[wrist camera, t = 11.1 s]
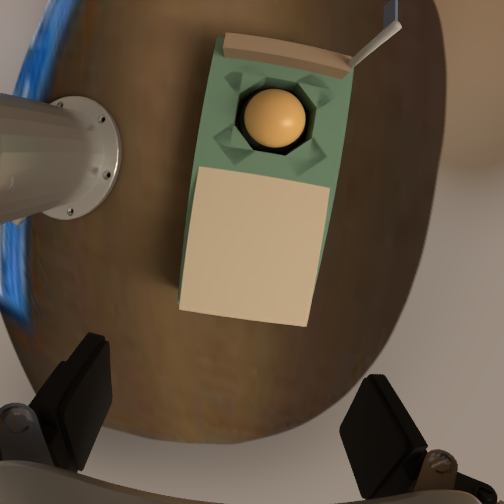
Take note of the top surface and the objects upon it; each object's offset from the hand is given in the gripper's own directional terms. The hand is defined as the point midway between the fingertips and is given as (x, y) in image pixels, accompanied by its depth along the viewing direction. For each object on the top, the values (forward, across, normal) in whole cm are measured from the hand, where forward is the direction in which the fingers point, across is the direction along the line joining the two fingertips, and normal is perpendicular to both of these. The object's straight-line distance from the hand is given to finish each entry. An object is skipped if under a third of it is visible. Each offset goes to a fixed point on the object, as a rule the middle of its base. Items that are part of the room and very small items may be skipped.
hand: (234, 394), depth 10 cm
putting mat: (+21, -1, -7) cm, 22 cm away
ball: (+18, -1, -12) cm, 21 cm away
